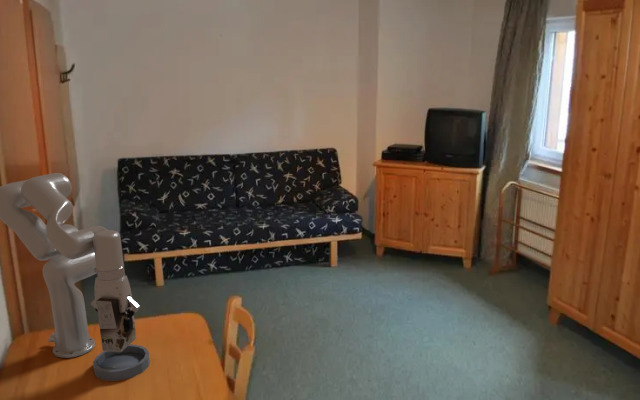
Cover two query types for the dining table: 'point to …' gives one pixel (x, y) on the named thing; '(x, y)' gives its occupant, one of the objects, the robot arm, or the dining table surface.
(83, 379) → the dining table surface
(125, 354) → the bowl
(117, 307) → the coffee box
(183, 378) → the dining table surface
